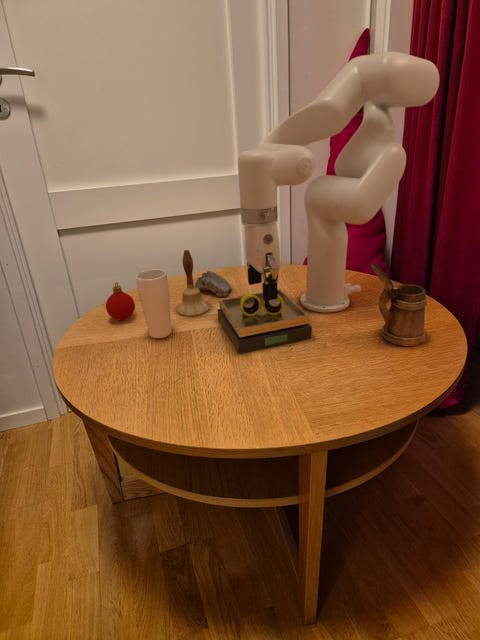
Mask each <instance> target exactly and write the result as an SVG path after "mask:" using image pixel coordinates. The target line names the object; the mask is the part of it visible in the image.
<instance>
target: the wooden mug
mask: <svg viewBox="0 0 480 640" xmlns="http://www.w3.org/2000/svg"><path fill="white" fill-rule="evenodd" d="M370 267H371V269H372V271H373V273H374V275H376V277H377V278H378V279H379V281H380V282H381V283H382V285H383V286H384V289H383V290H382V292H381V293H380V295H379V299H378V310H379V312H380V315H381V316H382V318H383V320H384V324H383V326H382V328H381V336H382V337H383V339H385V340H386V341H387V342H388V343H391V344H393V345H396V346H400V347H416V346H418V345H421V344H423V343H425V341H426V338H427V337H426V330H425V329H426V328H425V321H426V320H425V315H426V312H425V311H426V306H427V304H428V301H427V298H428V297H427V296H426V288H424V287H423V286H421V285H417V284H410V283H407V284H406V283H405V284H400V285H397V286H396V287H394V284H393V282H392V280H391V279H390V277H389V276H388V275H387V274H386V272H385V271H384V270H383V269H382V268H381V267H380V266H379V265H378V264H377V263H375V262H371V264H370ZM389 302H390V305H389V309H388V304H389Z"/></svg>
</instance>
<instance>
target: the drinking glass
mask: <svg viewBox="0 0 480 640" xmlns="http://www.w3.org/2000/svg"><path fill="white" fill-rule="evenodd" d="M135 281H136V289H137V293H138V297H139V302H140V304H141V308H142V311H143V316H144V320H145V322H146V327H147V331H148V335H149V336H150V337H151V338H153V339H164V338H166V337H168V336H170V335H171V333H172V331H173V330H172V321H171V320H172V319H171V301H170V287H169V279H168V273H167V271H165V270H163V269H160V268H159V269H158V268H153V269H152V268H151V269H146V270H143V271H140V272H139V273H137V274H136V275H135Z"/></svg>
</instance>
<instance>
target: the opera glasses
mask: <svg viewBox="0 0 480 640" xmlns="http://www.w3.org/2000/svg"><path fill="white" fill-rule="evenodd" d="M252 294H253V293H251V295H250V293H249V294H248V293H247V294H244V295H242V296H243V297H242V299H241V304H240V308H241V311H242V313H243V314H244V315H246V316H254V315H256V314H257V313H258V312H259V311H260V309H261V305H263V308H264V310H265V312H267V313H268V314H270V315H278V314H279V313H281V312H282V310H283V308H284V302H283V300H282V298H281V296H280V295H279V294H278V299H279V300H280V303H279V305H277V306H272V305H271V304H270V303H269V300H268V301H264V300H260V299H259V298H258V297H257V296H256V295H252ZM249 297H252V298H253V300H254V303H253V305H252V306H251V307H245V306H244V305H243V303H244V301H245V300H246V299H247V298H249Z"/></svg>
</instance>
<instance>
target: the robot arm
mask: <svg viewBox="0 0 480 640" xmlns="http://www.w3.org/2000/svg"><path fill="white" fill-rule="evenodd" d="M439 86H440V73H439V70H438V68H437V66H436V65H435V64H434V63H433V62H432V61H431V60H428V59H425V58H421V57H418V56H415V55H411V54H407V53H403V52H400V51H384V52H383V51H382V52H378V53H377V52H376V53H372V54H363V55H359V56H356V57H354V58H352V59H350V60H349V61H348V62H347V63H346V64H345V65H344V66H343V67H342V68H341V69H340V70H339V71H338V72H337V74H336V75H335V76H334V77H333V79H331V81H330V82H329V83H328V84H327V85H326V86H325V87H324V88H323V90H321V92H320V93H319V94H318V95H317V97H315V98H314V99H313V101H311V102H310V103H307V104H306V105H305V106H303V107H301V108H300V109H298V110H297V111H296V112H294V113H292V114H291V115H289V116H288V117H285V118H284V120H282V121H280V122H279V123H278V124H277V125H276V126H274V127H273V128H272V129H271V130H270V131H269V132H268V133H267V134H266V135H265V137H264V138H263V139H261V142H259V144H258V145H257V147H256V148H255V149H250V150H244V151H242V152H240V153H239V155H238V157H237V172H238V173H237V175H238V189H239V203H240V204H239V205H240V206H239V207H240V221H241V225H243V226H244V252H245V260H246V261H247V262H246V266H247V281H248V282H247V283H248V285H250V286H251V285H252V286H253V285H257V284H262V286H261V287H262V292H263V300H264V301H268V300H273V299H277V298H278V289H279V288H278V287H279V286H278V282H279V271H280V270H281V267H282V265H281V264H282V263H281V248H280V238H279V230H278V226H277V225H278V222H279V220H278V219H279V217H278V187H280V186H298V185H301V184H303V183H305V182H307V181H308V180H309V179H310V178H311V177H312V175H313V174H314V172H315V168H316V159H315V156H314V154H313V152H312V151H311V150H310V149H309V148H307V147H305V146H308V145H311V144H314V143H316V142H320V141H323V140H326V139H328V138H331V137H333V136H336V135H338V134H339V133H341V132H342V131H344V129H345V128H346V127H347V125H348V124H349V123H350V122H351V121H352V119H353V118H354V117H355V116H356V115H357V114H358V112H359V111H360V110H361V109H362V108H363V117H362V121H361V123H360V125H359V127H358V128H357V130H356V131H355V132H354V133H353V135H352V136H351V138H350V139H349V141H348V142H346V144H345V145H344V147H343V148H342V150H341V151H340V153H338V156H337V158H336V159H335V163H334V172H335V175H334V174H333V175H332V174H331V175H329V174H328V175H327V174H325V175H320V176H317V177H315V178H313V179H312V180H311V181H310V182H309V183H308V185H307V186H306V189H305V191H304V197H303V198H304V199H303V201H304V209H305V216H306V222H307V251H306V252H307V254H306V256H307V257H306V258H307V259H306V291H305V292H303V293H302V295H300V298H299V299H300V300H299V301H300V304H301V306H302V307H304V308H305V309H307V310H309V311H313V312H316V313H335V312H336V313H337V312H340V311H343V310H345V309H346V308H348V307H349V305H350V297H349V296H350V295H351V294H357V293H360V292H361V291H362V287H361V285H360V284H354V285H352V283H350V282H349V283H346V270H347V269H346V268H347V252H348V242H349V235H348V230H347V226H346V224H351V225H364V224H366V223H368V222H370V221H371V220H373V218H374V217H375V216H376V215H377V213H378V212H379V210H380V209H381V208H382V206H383V205H384V203H385V202H386V201H387V199H388V198H389V196H391V194H392V193H393V191H394V190H395V189H396V187H397V186H398V184H399V183H400V181H401V179H402V177H403V175H404V172H405V169H406V165H407V153H406V151H405V149H404V147H403V146H402V145H401V144H400V143H398V142H396V141H394V139H395V137H396V125H395V122H394V120H393V116H392V111H391V108H412V107H422V106H424V105H427V104H428V103H429V102H431V101H432V100H433V98H434V97H435V95H436V94H437V91H438V89H439ZM267 274H268V275H267Z"/></svg>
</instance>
